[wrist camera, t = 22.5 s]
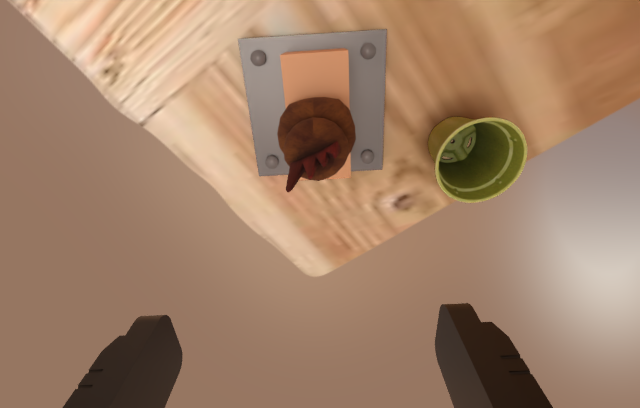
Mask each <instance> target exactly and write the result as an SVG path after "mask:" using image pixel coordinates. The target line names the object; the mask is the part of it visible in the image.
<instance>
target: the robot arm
mask: <svg viewBox="0 0 640 408" xmlns="http://www.w3.org/2000/svg"><path fill="white" fill-rule="evenodd" d="M435 350H436V356H437V360H438V364H439V366H440V369H441V372H442V375H443V378H444V380H445V383H446V386H447V389H448V392H449V394H450V397H451V400H452V403H453V405H454V408H553V407H552V405H551V404H550V402H549V401H548V399H547V397H546V396H545V394H544V393H543V391H542V389H541V388H540V386H539V385H538V383H537V381H536V380H535V378H534V377H533V375H532V374H530V371H529V369H528V367H527V365H526V364H525V362H524V361H523V359H521V358H520V354H519V353H518V351H517V350H516V348H515V346H514V345H513V343H512V341H511V340H510V338H509V337H508V336H507V335H506V334H505V333H504V332H503V331H501V330H500V329H499V328H498V327H497V326H496V325H495V324H493V323H492V322H481V321H480V320H479V318H478V316H477V314H476V312H475V311H474V309H473V307H472V306H471V305H470V304H468V303H466V304H442V305H441V307H440V311H439V318H438V324H437V331H436V338H435ZM181 365H182V350H181V347H180V344H179V341H178V338H177V336H176V333H175V330H174V328H173V325H172V322H171V319H170V318H169V316H167V315H157V316H140V317H138V318H137V319H136V320H135V322H134V323H133V325H132V326H131V328H130V329H129V331H128V332H127V334H126V335H125V336H119V337H118V338H117V339H115V340H114V341H113V342H112V343H111V344H110V345H109V346H107V347H106V348H105V349H104V350H103V351H102V352H101V353H100V355H99V356H98V357H97V359H96V360H95V362H94V364H93V365H92V366H91V368H90V369H89V373H88V374H86V375H85V376H84V378H83V379H82V381H81V382H80V383H79V385H78V389H75V391H74V392H73V394H72V395H71V397H70V398H69V399H68V401H67V402H66V404H65V405H64V407H63V408H165V405H166V403H167V401H168V398H169V396H170V393H171V391H172V389H173V386H174V384H175V382H176V379H177V376H178V374H179V372H180V369H181Z"/></svg>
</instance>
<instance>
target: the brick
mask: <svg viewBox="0 0 640 408" xmlns="http://www.w3.org/2000/svg"><path fill="white" fill-rule="evenodd" d="M280 61H281V70H282V79H283V89H284V98H285V107H286V108H287V106H288V105H289V104H291V103H293V102H296V101H299V100H302V99H307V98H313V97H328V98H335V99H340V100H341V101H342V102H343V103H344V104H345V105H346V106H347V107H348V108H349V110H350V104H349V55H348V50H347V49H345V48H338V49H324V50H309V51H294V52H285V53H283V54H281V55H280ZM336 178H351V154H350V153H349V155H348V157H347V160H346V162H345V164H344V166H343V167H342V168H341V169H340V170H339V171H338V172H337V173H336V174H335V175H333V176H331V177H329V178H327V179H336ZM301 180H308V179H305V178H302V177H301V178H300V179H299V180H298V181H301Z"/></svg>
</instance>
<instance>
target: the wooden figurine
mask: <svg viewBox="0 0 640 408" xmlns="http://www.w3.org/2000/svg"><path fill="white" fill-rule="evenodd" d="M277 135H278V142H279V147H280V149H281V151H282V152H283V154H284V159H285V161H286V163H287V164H288V166H289V167H290V168H289V174H288V180H287V186H286V190H287V192H290V191H291V190H292V189H293V188H294V186H295V185H296V183H297V182H298V180H299V179H300V178H301V177H302V178H305V179H308V180H317V181H319V180H323V179H327V178H329V177H331V176H333V175H335V174H336V173H337V172H338V171H339V170H340V169H341V168H342V167H343V166H344V164H345V162H346V160H347V157H348V155H349V153H350V152H351V151H352V148H353V146H354V143H355V140H356V132H355V125H354V122H353V119H352V116H351V113H350V110H349V108H348V107H347V106H346V105H345V104H344V103H343V102H342V101H341V100H340V99H335V98H328V97H313V98H307V99H302V100H299V101H296V102H293V103H291V104H289V105H288V106H287V108H286V109H285V111H284V112H283V114H282V115H281V117H280V121H279V127H278V133H277Z"/></svg>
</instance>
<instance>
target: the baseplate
mask: <svg viewBox="0 0 640 408" xmlns="http://www.w3.org/2000/svg"><path fill="white" fill-rule="evenodd" d="M386 36H387V29H382V30H366V31H351V32H336V33H321V34H305V35H290V36H275V37H259V38H244V39H238V42H239V49H240V55H241V62H242V68H243V75H244V81H245V88H246V94H247V101H248V107H249V114H250V120H251V127H252V133H253V140H254V146H255V153H256V159H257V166H258V172H259V176H272V175H288V174H289V168H290V167H289V166H288V164H287V163H286V161H285V159H284V154H283V152H282V151H281V149H280V147H279V142H278V135H277V133H278V127H279V121H280V117H281V115H282V114H283V112H284V111H285V109H286V107H285V98H284V89H283V79H282V70H281V61H280V55H281V54H283V53H285V52H294V51H309V50H324V49H338V48H345V49H347V50H348V55H349V104H350V113H351V116H352V119H353V122H354V125H355V132H356V140H355V143H354V146H353V148H352V151H351V152H350V154H351V171H365V170H382V165H383V133H384V101H385V69H386Z"/></svg>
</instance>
